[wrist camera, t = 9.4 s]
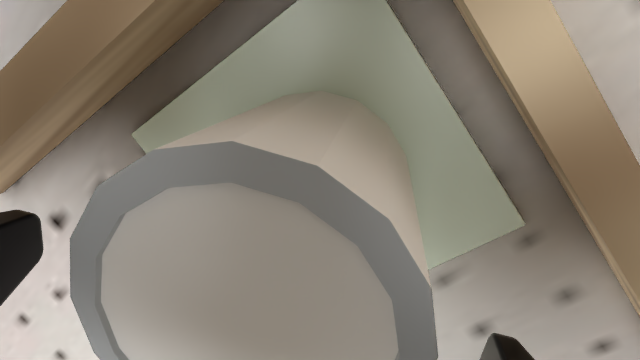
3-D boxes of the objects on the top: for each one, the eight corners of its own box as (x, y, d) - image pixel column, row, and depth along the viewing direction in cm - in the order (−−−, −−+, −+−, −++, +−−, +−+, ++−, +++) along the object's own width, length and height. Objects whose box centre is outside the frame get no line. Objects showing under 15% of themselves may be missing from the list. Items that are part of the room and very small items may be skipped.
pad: (523, 220, 14) (525, 224, 14) (293, 327, 17) (291, 333, 17) (357, -46, 12) (356, -47, 12) (135, 131, 15) (130, 134, 15)
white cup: (445, 76, 13) (470, 165, 6) (418, 287, 15) (415, 500, 9) (208, 61, 14) (25, 125, 7) (221, 259, 16) (95, 430, 10)
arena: (706, 345, 14) (802, 466, 11) (266, 483, 21) (234, 586, 17) (390, -218, 11) (375, -324, 7) (-20, 167, 17) (-136, 214, 14)
